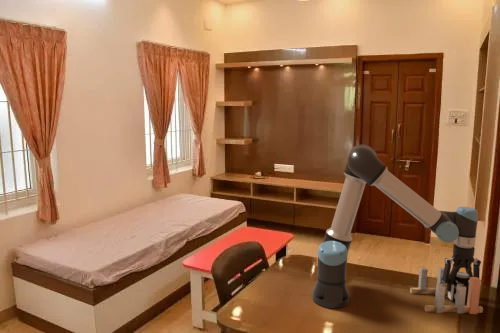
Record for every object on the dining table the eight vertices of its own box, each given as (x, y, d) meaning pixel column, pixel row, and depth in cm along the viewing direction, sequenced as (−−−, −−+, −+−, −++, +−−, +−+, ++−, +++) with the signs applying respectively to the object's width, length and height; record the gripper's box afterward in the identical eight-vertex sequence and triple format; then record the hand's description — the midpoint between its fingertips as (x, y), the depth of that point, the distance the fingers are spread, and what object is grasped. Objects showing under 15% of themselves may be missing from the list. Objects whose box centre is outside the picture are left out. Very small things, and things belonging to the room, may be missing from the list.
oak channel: (425, 311, 153) (426, 306, 153) (409, 291, 170) (410, 287, 169) (482, 312, 153) (483, 308, 153) (460, 292, 169) (461, 288, 169)
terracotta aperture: (470, 314, 152) (473, 280, 150) (447, 291, 170) (449, 261, 168) (477, 314, 152) (480, 280, 150) (453, 291, 170) (456, 261, 168)
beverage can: (470, 306, 158) (473, 278, 156) (454, 305, 158) (457, 277, 156) (462, 298, 164) (465, 271, 162) (446, 297, 164) (449, 270, 163)
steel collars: (436, 313, 152) (439, 286, 151) (417, 291, 171) (419, 267, 169) (463, 313, 152) (466, 287, 150) (441, 291, 170) (444, 267, 169)
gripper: (444, 248, 154) (439, 302, 157) (494, 249, 153) (488, 303, 157) (435, 241, 161) (431, 293, 165) (483, 242, 161) (477, 294, 164)
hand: (459, 298), depth 161 cm, fingers closed on beverage can, 6 cm apart
